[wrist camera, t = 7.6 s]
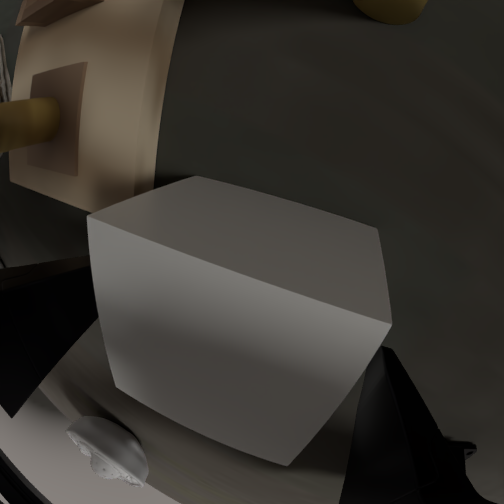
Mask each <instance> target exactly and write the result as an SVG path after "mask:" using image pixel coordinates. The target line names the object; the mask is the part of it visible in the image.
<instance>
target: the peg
mask: <svg viewBox="0 0 504 504" xmlns="http://www.w3.org/2000/svg"><path fill="white" fill-rule="evenodd" d="M353 2H354V4H355V5H356V6H357V7H358V8H359V9H360V10H361V11H362V12H363V13H365V14H366V15H367V16H369V17H371V18H373V19H375V20H377V21H380V22H383V23H387V24H392V25H403V24H408V23H411V22H413V21H414V20H416V19H417V18H418V17H419V16H420V14H421V12H422V10H423V8H424V6H425V4H426V2H427V0H353Z"/></svg>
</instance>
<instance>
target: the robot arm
mask: <svg viewBox="0 0 504 504" xmlns="http://www.w3.org/2000/svg"><path fill="white" fill-rule="evenodd" d="M98 317H99V315H98V309H97V304H96V298H95V292H94V285H93V278H92V270H91V262H90V255H88V256H81V257H75V258H69V259H62V260H56V261H50V262H44V263H39V264H31V265H25V266H19V267H10V268H2V269H0V405H1V406H2V407H3V409H4V410H5V411H6V412H7V413H8V415H9V416H10V417H11V418H13V417H14V415H15V414H16V413H17V412H18V411H19V409H20V408H21V407H22V405H23V404H24V403H25V402H26V400H27V399H28V398H29V397H30V395H31V394H32V393H33V392H34V390H35V389H36V388H37V387H38V385H39V384H40V383H41V382H42V380H43V379H44V378H45V377H46V376H47V374H48V373H49V372H50V371H51V370H52V368H53V367H54V366H55V365H56V364H57V363H58V361H59V360H60V359H61V358H62V357H63V356H64V355H65V353H66V352H67V351H68V350H69V349H70V348H71V347H72V346H73V344H74V343H75V342H76V341H77V340H78V339H79V338H80V337H81V336H82V334H83V333H84V332H85V331H86V330H87V329H88V328H89V327H90V326H91V325H92V324H93V322H94V321H95V320H96V319H97V318H98ZM476 451H477V448H476V445H475V444H458V443H447V442H446V441H445V439H444V437H443V435H442V433H441V431H440V429H438V426H437V424H436V422H435V420H434V419H433V417H432V415H431V413H430V411H429V410H428V408H427V406H426V404H425V403H424V401H423V399H422V397H421V396H420V394H419V392H418V390H417V389H416V387H415V385H414V384H413V382H412V380H411V379H410V377H409V375H408V374H407V372H406V370H405V369H404V367H403V365H402V364H401V362H400V361H399V359H398V357H397V356H396V354H395V352H394V351H393V350H392V349H391V348H388V347H384V346H380V347H379V348H378V350H377V351H376V353H375V354H374V356H373V358H372V359H371V361H370V362H369V364H368V366H367V369H366V374H365V379H364V383H363V387H362V392H361V396H360V400H359V404H358V408H357V414H356V420H355V427H354V433H353V439H352V445H351V451H350V456H349V461H348V466H347V471H346V475H345V480H344V484H343V489H342V493H341V497H340V501H339V504H497V503H494V502H491V501H489V500H486V499H485V498H483V497H482V496H480V495H479V494H478V493H477V491H476V490H475V489H474V487H473V485H472V484H471V482H470V481H469V479H468V477H467V476H466V470H465V460H466V459H468V458H469V457H470V456H472V455H473V454H474V453H476ZM0 493H1V494H2V496H3V497H4V498H5V499H6V500H7V501H8V502H9V504H52V503H51V502H50V501H49V500H48V499H47V498H46V497H45V496H43V495H42V494H41V493H40V492H39V491H38V490H37V489H36V488H35V487H34V486H33V485H32V484H31V483H30V482H29V481H28V480H27V479H26V478H25V476H24V475H23V474H22V473H21V472H20V471H19V470H18V469H17V468H16V467H15V465H14V464H13V463H12V462H11V461H10V460H9V458H8V457H7V456H6V455H5V454H4V453H3V451H2V450H1V449H0ZM0 504H4V503H3V502H1V501H0Z"/></svg>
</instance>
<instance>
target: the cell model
mask: <svg viewBox="0 0 504 504" xmlns="http://www.w3.org/2000/svg"><path fill="white" fill-rule="evenodd" d="M66 432H67V434H68V435H69V437H70V438H71V440H73V441H74V442H75V443H76V444H77V446H78V447H79V448H80V452H82V453H83V454H84V455H86V456H90V457H91V467H92V469H93V471H94V472H95V473H96V474H97V475H98V476H100V477H102V478H106V479H114V478H119V479H121V480H123V481H124V482H126V483H128V484H130V485H132V486H137V487H144V483H145V480H146V477H147V475H148V471H149V470H148V465H147V460H146V455H145V453H144V450H143V448H142V447H141V445H140V443H139V442H138V440H137V439H136V438H135V436H133V435H132V434H131V433H130V432H128V431H127V430H125V429H124V428H122V427H121V426H119V425H118V424H116V423H114V422H112V421H110V420H108V419H105V418H101V417H95V416H83V417H81V418H79V419H78V420H76V421H75V422H73V423H72V424H71V425H70V426H69V427H68V429H67V430H66Z"/></svg>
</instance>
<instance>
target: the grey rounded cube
mask: <svg viewBox="0 0 504 504" xmlns="http://www.w3.org/2000/svg"><path fill="white" fill-rule="evenodd" d="M87 228H88V241H89V252H90V262H91V270H92V278H93V285H94V292H95V298H96V304H97V309H98V315H99V320H100V325H101V330H102V335H103V339H104V344H105V348H106V352H107V356H108V360H109V364H110V368H111V371H112V375H113V379H114V382H115V385H116V387H117V388H118V389H120V390H122V391H123V392H125V393H126V394H128V395H129V396H131V397H133V398H134V399H136V400H138V401H139V402H141V403H143V404H144V405H146V406H148V407H149V408H151V409H153V410H155V411H157V412H158V413H160V414H162V415H164V416H166V417H168V418H169V419H171V420H173V421H175V422H177V423H179V424H181V425H183V426H185V427H187V428H189V429H191V430H193V431H195V432H198V433H200V434H202V435H204V436H206V437H208V438H211V439H213V440H215V441H218V442H220V443H222V444H225V445H227V446H230V447H232V448H235V449H237V450H240V451H243V452H245V453H248V454H251V455H254V456H256V457H259V458H262V459H265V460H268V461H271V462H274V463H278V464H281V465H284V466H288V465H289V464H290V463H291V462H292V461H293V460H294V459H295V458H296V457H297V455H298V454H299V453H300V452H301V451H302V450H303V449H304V448H305V447H306V445H307V444H308V443H309V442H310V441H311V440H312V438H313V437H314V436H315V435H316V434H317V433H318V431H319V430H320V429H321V428H322V427H323V425H324V424H325V423H326V422H327V420H328V419H329V418H330V417H331V415H332V414H333V413H334V411H335V410H336V409H337V408H338V406H339V405H340V404H341V402H342V401H343V400H344V398H345V397H346V396H347V394H348V393H349V391H350V390H351V389H352V387H353V386H354V384H355V383H356V381H357V380H358V379H359V377H360V376H361V374H362V373H363V371H364V370H365V368H366V367H367V365H368V364H369V362H370V361H371V359H372V357H373V356H374V354H375V353H376V351H377V350H378V348H379V346H380V345H381V343H382V341H383V340H384V338H385V336H386V335H387V333H388V331H389V330H390V328H391V326H392V318H391V309H390V301H389V294H388V286H387V280H386V274H385V267H384V262H383V256H382V251H381V245H380V240H379V235H378V231H377V228H374V227H371V226H368V225H366V224H363V223H360V222H357V221H354V220H351V219H348V218H345V217H342V216H339V215H335V214H332V213H329V212H326V211H323V210H320V209H317V208H313V207H310V206H307V205H304V204H300V203H297V202H293V201H290V200H287V199H283V198H280V197H276V196H273V195H269V194H266V193H262V192H259V191H255V190H251V189H248V188H244V187H240V186H236V185H232V184H229V183H225V182H221V181H217V180H213V179H209V178H205V177H201V176H193V177H190V178H187V179H183V180H180V181H177V182H174V183H171V184H169V185H166V186H163V187H160V188H157V189H154V190H151V191H149V192H146V193H143V194H140V195H138V196H135V197H132V198H130V199H127V200H124V201H122V202H119V203H117V204H114V205H112V206H109V207H107V208H104V209H102V210H99V211H97V212H95V213H92V214H90V215H87Z"/></svg>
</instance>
